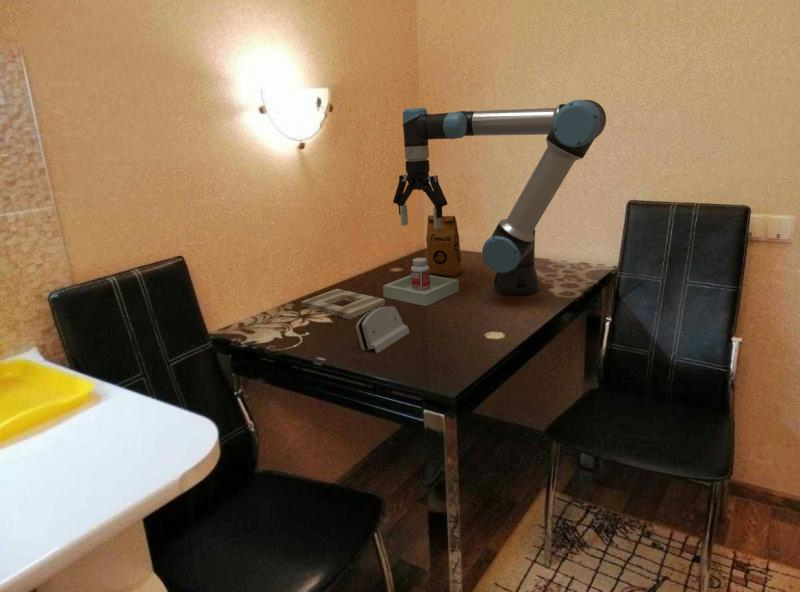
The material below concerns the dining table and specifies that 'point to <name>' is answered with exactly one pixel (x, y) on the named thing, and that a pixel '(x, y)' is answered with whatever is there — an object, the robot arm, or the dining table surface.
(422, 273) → the pill bottle
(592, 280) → the dining table surface
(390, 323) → the napkin holder
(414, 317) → the dining table surface
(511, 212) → the robot arm
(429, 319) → the dining table surface
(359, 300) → the socket block
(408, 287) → the tray
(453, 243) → the coffee package
